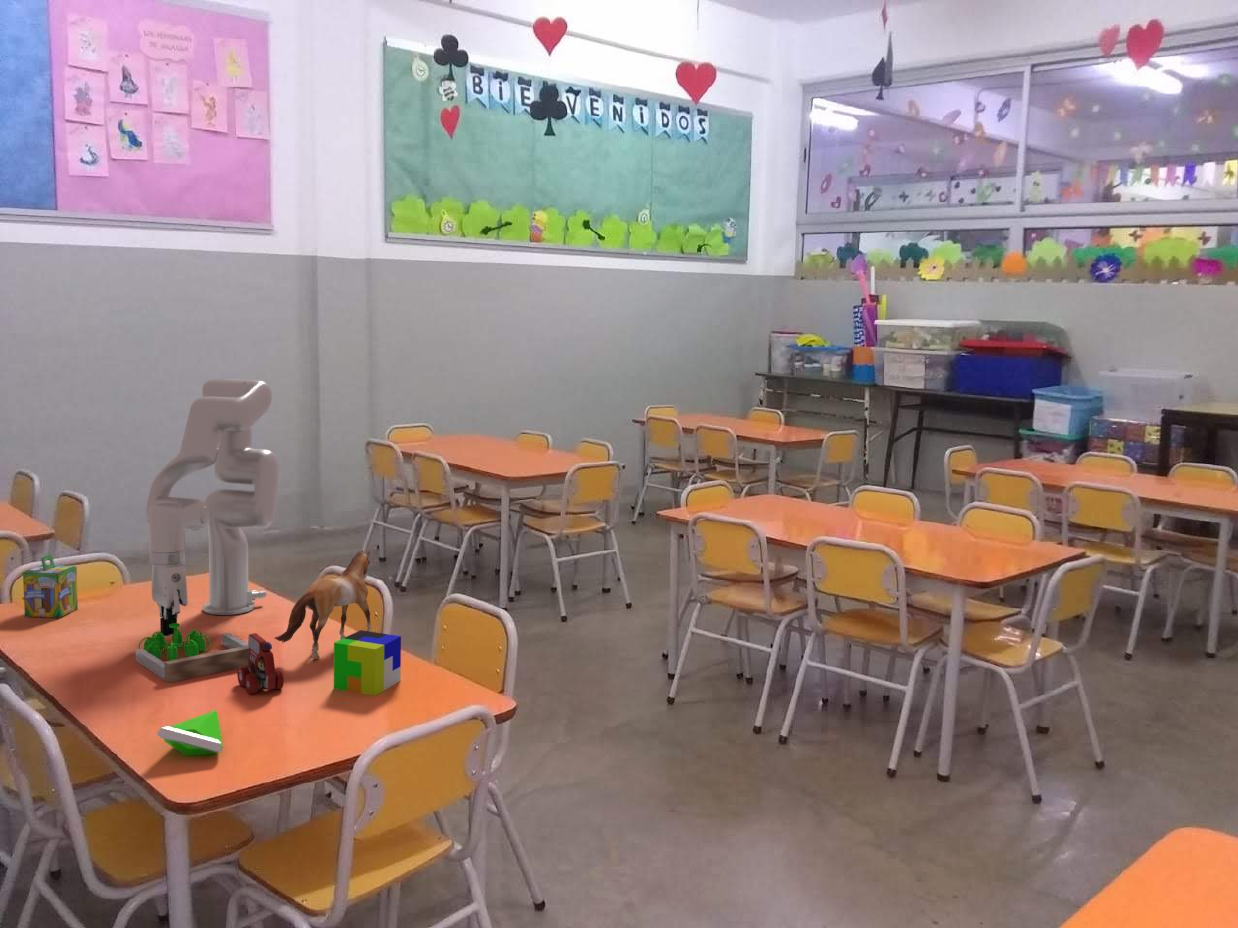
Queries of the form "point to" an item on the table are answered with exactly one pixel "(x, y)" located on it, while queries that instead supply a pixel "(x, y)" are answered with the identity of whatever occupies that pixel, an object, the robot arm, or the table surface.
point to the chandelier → (175, 643)
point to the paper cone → (195, 735)
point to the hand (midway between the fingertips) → (168, 634)
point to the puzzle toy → (367, 662)
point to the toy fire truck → (259, 667)
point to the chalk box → (50, 590)
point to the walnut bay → (198, 661)
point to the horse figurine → (331, 600)
